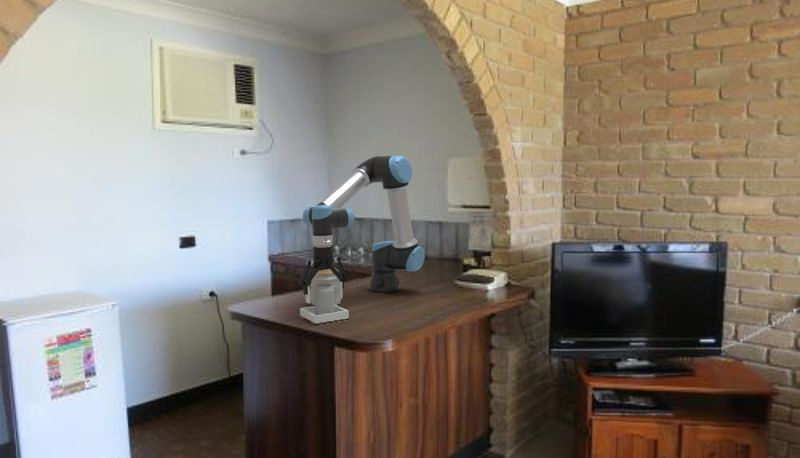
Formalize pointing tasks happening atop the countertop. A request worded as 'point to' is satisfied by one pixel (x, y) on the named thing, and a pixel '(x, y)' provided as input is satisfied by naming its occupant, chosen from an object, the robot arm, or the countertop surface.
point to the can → (324, 299)
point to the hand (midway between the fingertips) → (324, 300)
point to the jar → (325, 278)
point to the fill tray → (337, 315)
